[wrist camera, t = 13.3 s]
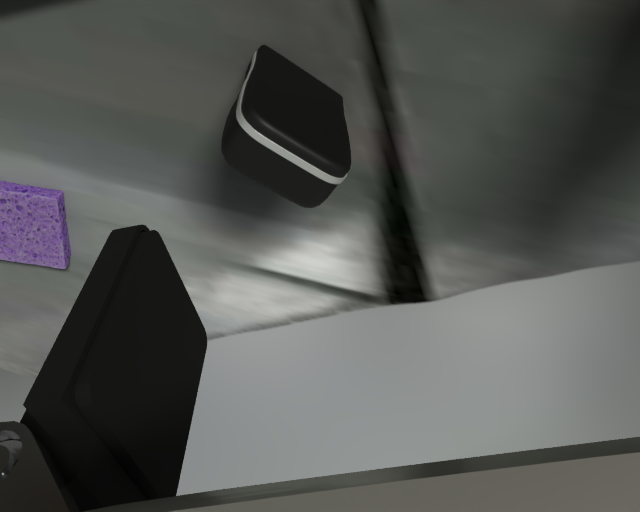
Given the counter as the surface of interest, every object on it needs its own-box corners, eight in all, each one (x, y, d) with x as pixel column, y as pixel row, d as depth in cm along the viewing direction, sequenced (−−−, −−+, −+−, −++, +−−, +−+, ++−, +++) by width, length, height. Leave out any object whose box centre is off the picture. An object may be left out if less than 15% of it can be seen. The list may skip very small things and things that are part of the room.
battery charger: (231, 86, 37) (205, 167, 28) (259, 38, 35) (241, 108, 26) (316, 139, 40) (317, 229, 30) (347, 97, 38) (358, 179, 29)
